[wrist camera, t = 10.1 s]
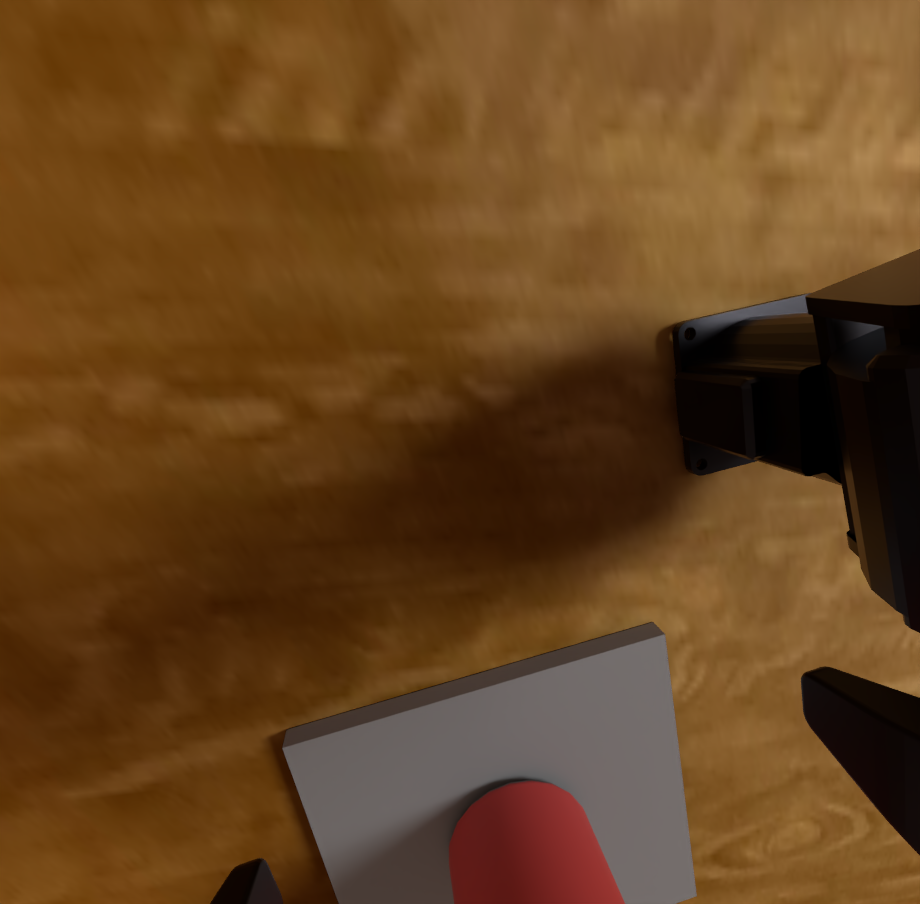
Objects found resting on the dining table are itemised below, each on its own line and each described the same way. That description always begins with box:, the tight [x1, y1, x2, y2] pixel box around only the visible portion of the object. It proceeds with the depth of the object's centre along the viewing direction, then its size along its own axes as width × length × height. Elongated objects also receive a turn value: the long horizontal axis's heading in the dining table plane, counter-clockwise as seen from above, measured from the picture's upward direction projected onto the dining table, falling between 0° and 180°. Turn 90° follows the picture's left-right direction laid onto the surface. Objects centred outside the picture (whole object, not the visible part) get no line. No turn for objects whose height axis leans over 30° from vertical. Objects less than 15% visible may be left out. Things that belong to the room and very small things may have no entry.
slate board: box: [282, 622, 696, 904], centre depth 24 cm, size 17×16×1 cm
